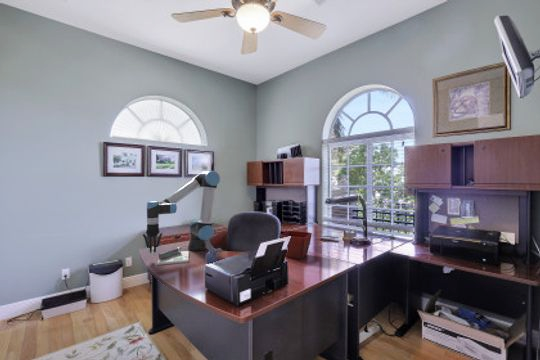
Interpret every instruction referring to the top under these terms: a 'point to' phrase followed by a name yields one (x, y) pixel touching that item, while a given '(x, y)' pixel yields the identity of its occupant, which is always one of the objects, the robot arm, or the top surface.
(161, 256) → the ball-tipped lever
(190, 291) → the top surface
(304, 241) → the plant pot
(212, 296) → the top surface
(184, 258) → the dial board
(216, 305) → the top surface
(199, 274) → the top surface
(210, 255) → the seal
